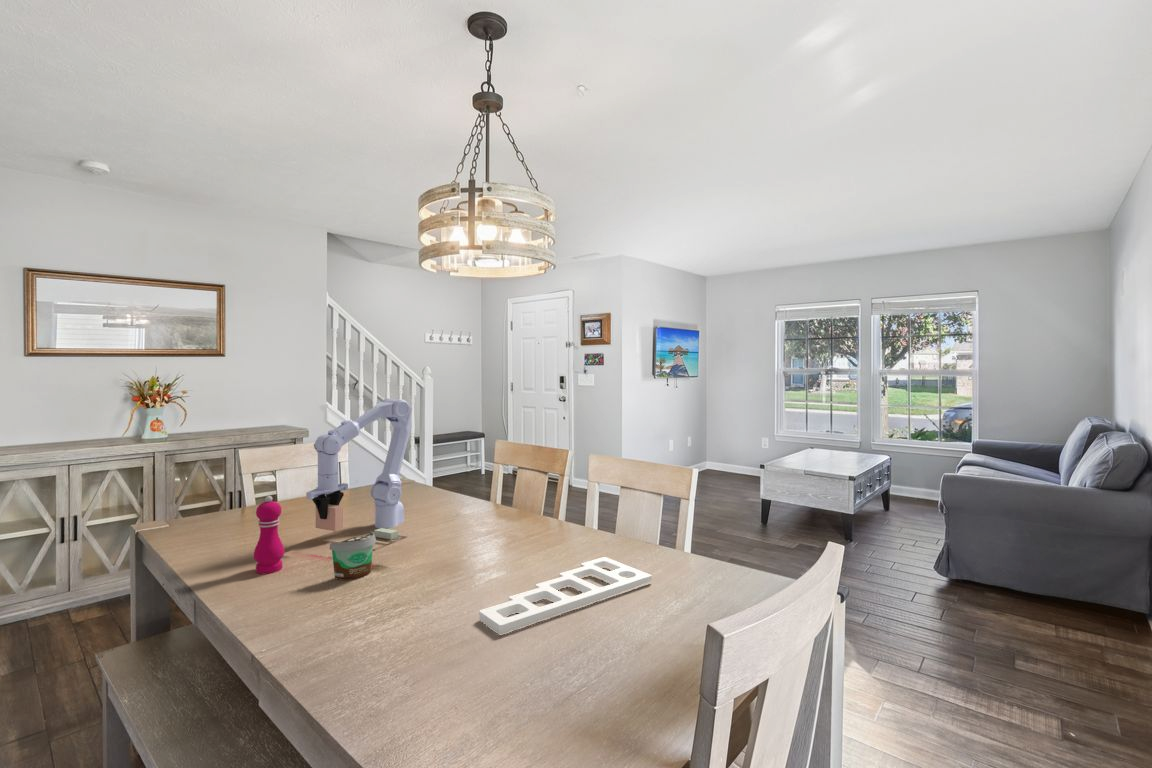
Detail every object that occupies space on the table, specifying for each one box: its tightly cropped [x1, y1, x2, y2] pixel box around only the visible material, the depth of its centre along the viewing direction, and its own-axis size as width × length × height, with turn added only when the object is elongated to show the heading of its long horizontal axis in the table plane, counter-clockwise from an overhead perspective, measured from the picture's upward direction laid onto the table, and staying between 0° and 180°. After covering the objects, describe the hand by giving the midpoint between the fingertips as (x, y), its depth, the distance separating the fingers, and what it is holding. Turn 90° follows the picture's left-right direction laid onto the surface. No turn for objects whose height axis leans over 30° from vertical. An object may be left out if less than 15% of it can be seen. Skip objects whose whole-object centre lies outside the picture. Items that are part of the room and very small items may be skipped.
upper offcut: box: [373, 528, 399, 541], centre depth 174 cm, size 3×7×2 cm, turn 64°
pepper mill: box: [253, 495, 285, 575], centre depth 150 cm, size 7×7×20 cm
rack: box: [373, 534, 407, 552], centre depth 170 cm, size 15×12×2 cm
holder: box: [478, 556, 653, 634], centre depth 135 cm, size 45×18×3 cm, turn 129°
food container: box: [329, 530, 377, 581], centre depth 146 cm, size 12×6×10 cm, turn 143°
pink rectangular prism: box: [315, 504, 344, 532], centre depth 172 cm, size 3×8×7 cm, turn 68°
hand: (328, 517), depth 172 cm, fingers closed on pink rectangular prism, 3 cm apart
